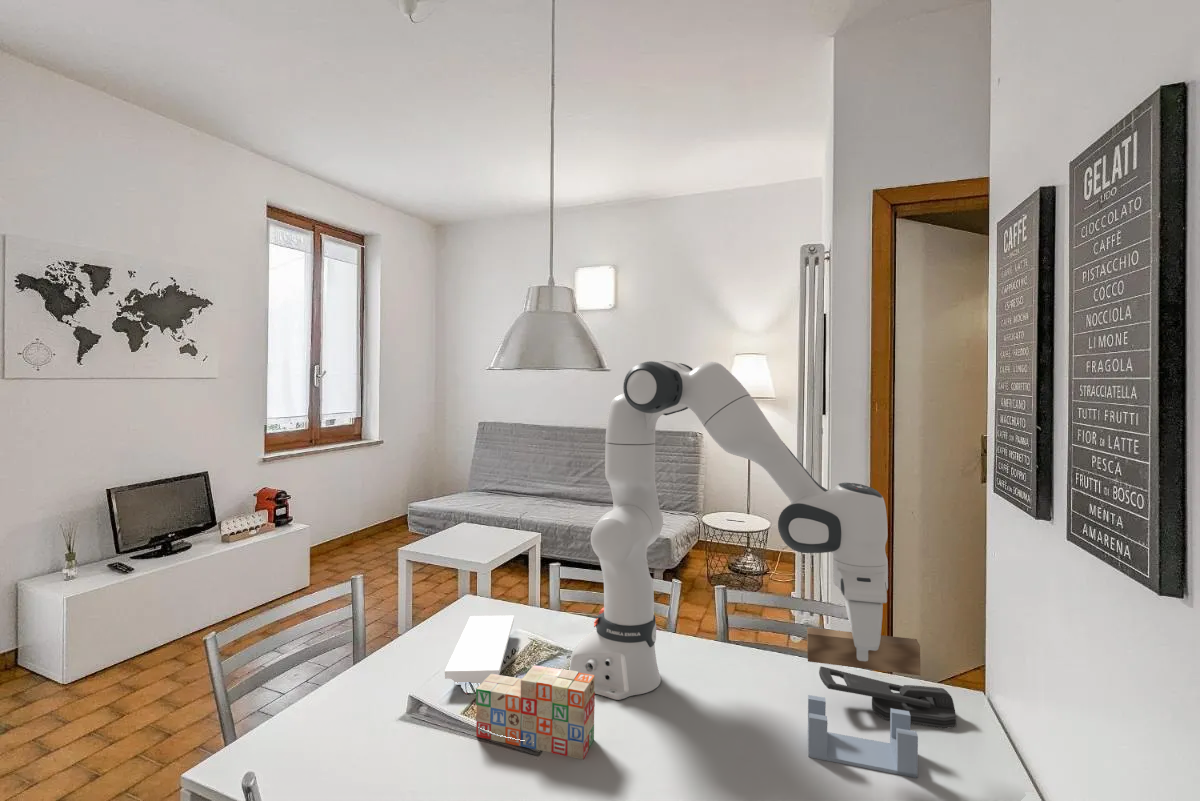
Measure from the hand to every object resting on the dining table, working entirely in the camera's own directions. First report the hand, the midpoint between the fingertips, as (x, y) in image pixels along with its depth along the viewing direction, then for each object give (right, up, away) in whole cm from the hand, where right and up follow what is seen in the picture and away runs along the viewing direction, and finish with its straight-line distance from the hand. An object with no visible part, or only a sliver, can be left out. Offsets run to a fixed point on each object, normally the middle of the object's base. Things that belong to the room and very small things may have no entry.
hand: (860, 653), depth 102 cm
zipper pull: (+11, -18, +14) cm, 25 cm away
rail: (0, -2, 0) cm, 2 cm away
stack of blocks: (-58, -18, +4) cm, 61 cm away
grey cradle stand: (0, -18, 0) cm, 18 cm away
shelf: (-74, -18, +35) cm, 84 cm away
